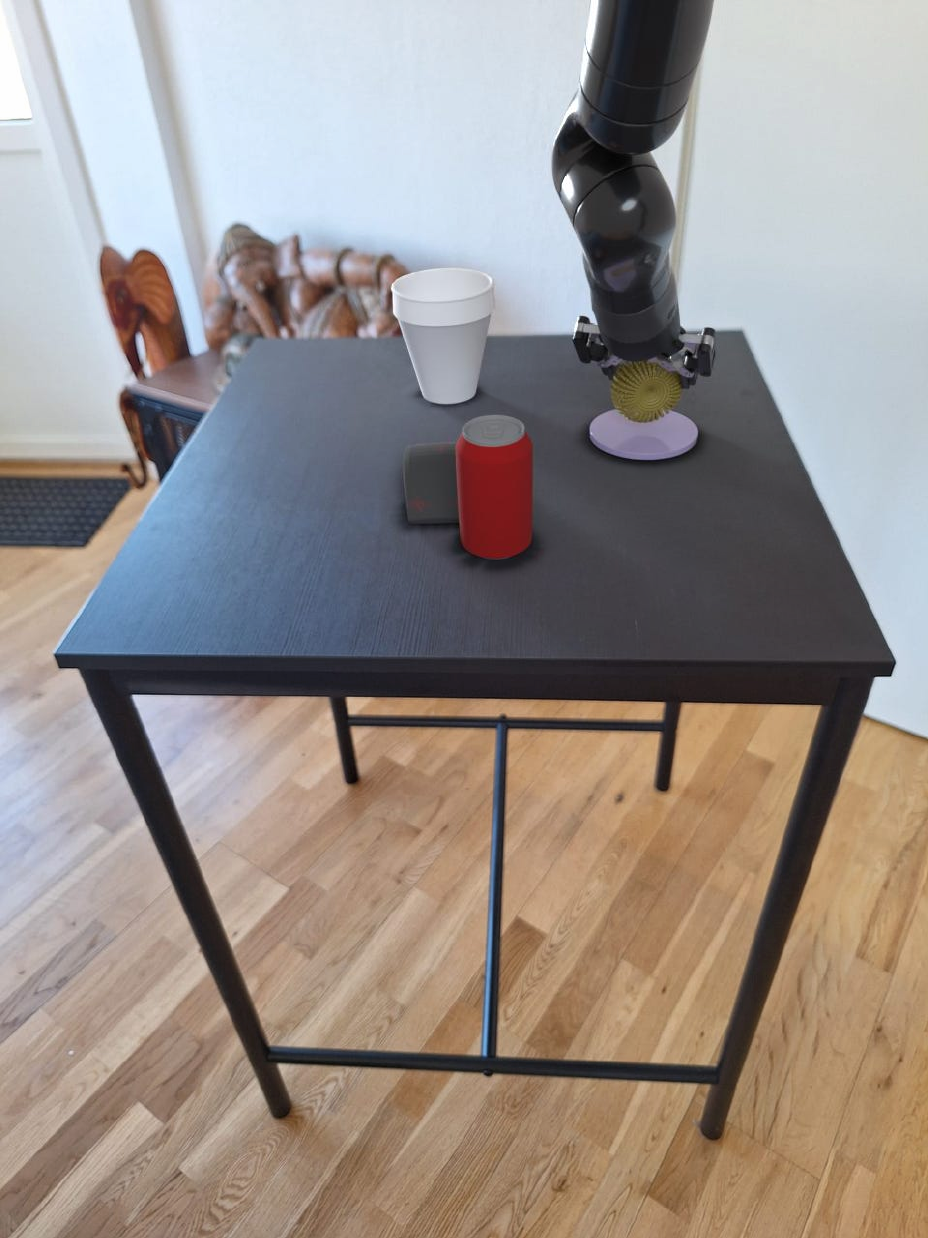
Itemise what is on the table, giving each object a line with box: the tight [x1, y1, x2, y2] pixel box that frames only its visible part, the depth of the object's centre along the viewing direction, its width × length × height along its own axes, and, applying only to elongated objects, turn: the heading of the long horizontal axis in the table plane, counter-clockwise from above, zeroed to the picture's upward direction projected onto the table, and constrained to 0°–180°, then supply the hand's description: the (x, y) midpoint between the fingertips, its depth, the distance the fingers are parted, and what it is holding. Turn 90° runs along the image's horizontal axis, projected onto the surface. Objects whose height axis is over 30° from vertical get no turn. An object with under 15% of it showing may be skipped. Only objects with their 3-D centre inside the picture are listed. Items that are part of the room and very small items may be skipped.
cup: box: [390, 267, 496, 405], centre depth 103 cm, size 12×12×14 cm
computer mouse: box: [402, 441, 460, 525], centre depth 87 cm, size 8×14×4 cm, turn 179°
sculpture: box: [609, 357, 684, 423], centre depth 92 cm, size 8×4×8 cm, turn 97°
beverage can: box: [455, 414, 534, 561], centre depth 76 cm, size 7×7×12 cm
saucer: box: [589, 408, 699, 461], centre depth 95 cm, size 12×12×1 cm
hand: (650, 376), depth 92 cm, fingers closed on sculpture, 7 cm apart
